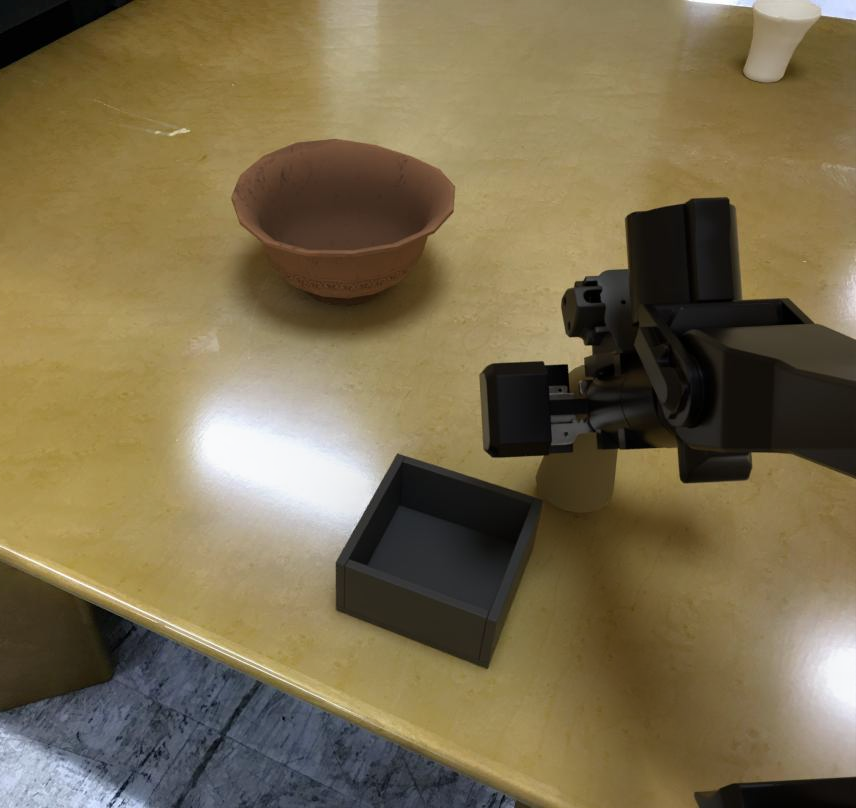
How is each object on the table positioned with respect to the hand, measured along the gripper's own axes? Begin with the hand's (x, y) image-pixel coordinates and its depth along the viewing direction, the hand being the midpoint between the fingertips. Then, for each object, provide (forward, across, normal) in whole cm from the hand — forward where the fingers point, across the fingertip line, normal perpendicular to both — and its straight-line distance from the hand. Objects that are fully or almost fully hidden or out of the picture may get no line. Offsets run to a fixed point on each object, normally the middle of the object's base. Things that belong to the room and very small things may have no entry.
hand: (584, 410), depth 68 cm
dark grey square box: (0, +12, +12) cm, 17 cm away
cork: (+4, 0, +6) cm, 7 cm away
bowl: (+27, +16, -16) cm, 35 cm away
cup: (+60, -48, -49) cm, 92 cm away
